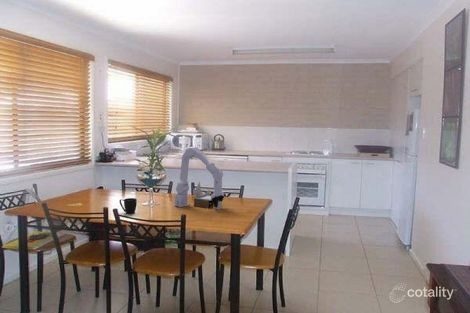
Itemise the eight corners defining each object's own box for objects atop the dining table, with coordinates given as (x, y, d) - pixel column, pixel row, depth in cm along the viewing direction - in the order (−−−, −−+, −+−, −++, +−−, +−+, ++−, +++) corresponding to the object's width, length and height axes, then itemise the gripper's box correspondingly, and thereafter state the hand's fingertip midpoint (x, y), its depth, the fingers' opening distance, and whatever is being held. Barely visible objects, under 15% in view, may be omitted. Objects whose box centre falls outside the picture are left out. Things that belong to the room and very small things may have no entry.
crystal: (207, 201, 314) (207, 182, 313) (191, 201, 316) (191, 181, 315) (210, 199, 324) (211, 180, 322) (194, 198, 326) (194, 180, 325)
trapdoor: (209, 200, 292) (209, 197, 291) (196, 198, 298) (196, 196, 297) (218, 198, 302) (218, 195, 302) (205, 196, 308) (205, 193, 308)
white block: (218, 209, 287) (218, 202, 286) (213, 208, 289) (213, 201, 289) (222, 208, 291) (222, 201, 290) (216, 207, 293) (216, 200, 293)
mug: (123, 211, 278) (123, 197, 277) (139, 212, 274) (139, 198, 274) (116, 213, 270) (116, 199, 269) (132, 215, 266) (132, 200, 266)
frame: (207, 208, 291) (207, 200, 290) (194, 206, 297) (194, 198, 296) (219, 204, 304) (219, 197, 304) (205, 202, 310) (205, 195, 310)
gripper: (217, 189, 280) (216, 208, 282) (227, 186, 293) (227, 205, 294) (208, 188, 284) (208, 207, 285) (219, 185, 296) (219, 204, 298)
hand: (217, 206), depth 290 cm, fingers closed on white block, 4 cm apart
